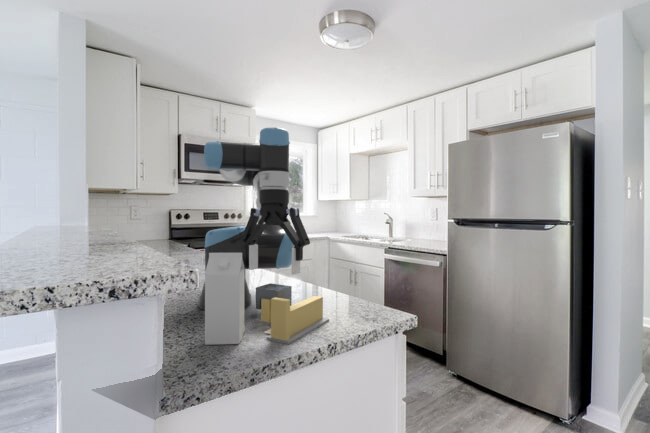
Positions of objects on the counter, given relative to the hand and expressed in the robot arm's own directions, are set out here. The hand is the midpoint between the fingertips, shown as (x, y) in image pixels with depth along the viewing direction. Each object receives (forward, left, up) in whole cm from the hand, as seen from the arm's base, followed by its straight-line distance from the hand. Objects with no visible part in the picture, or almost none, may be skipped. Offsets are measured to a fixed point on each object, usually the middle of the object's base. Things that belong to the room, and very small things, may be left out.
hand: (273, 271), depth 88 cm
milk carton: (-1, -16, -13) cm, 20 cm away
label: (+5, -6, -13) cm, 15 cm away
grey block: (0, 0, -10) cm, 10 cm away
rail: (+10, -3, -13) cm, 16 cm away
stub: (0, 0, -13) cm, 13 cm away
